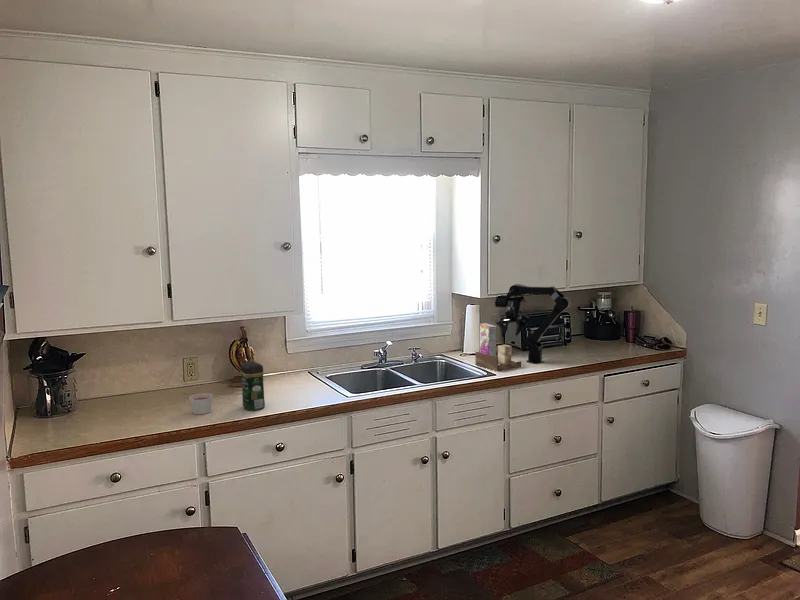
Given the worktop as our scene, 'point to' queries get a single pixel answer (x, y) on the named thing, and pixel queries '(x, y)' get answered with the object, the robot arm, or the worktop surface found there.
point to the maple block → (504, 353)
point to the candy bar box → (488, 339)
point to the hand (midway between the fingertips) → (509, 336)
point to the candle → (201, 403)
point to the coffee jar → (252, 385)
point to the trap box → (494, 362)
